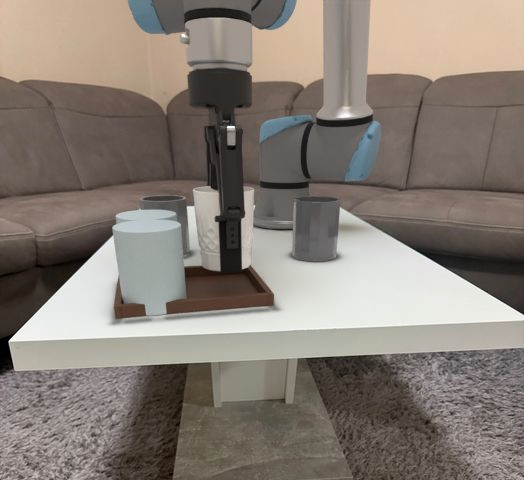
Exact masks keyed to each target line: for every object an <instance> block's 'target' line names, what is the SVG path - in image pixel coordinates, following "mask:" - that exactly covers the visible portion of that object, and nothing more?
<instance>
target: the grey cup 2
mask: <svg viewBox="0 0 524 480" xmlns="http://www.w3.org/2000/svg"><path fill="white" fill-rule="evenodd" d="M340 212H341V198H339V197H335V196H327V195H310V196H302V197H296V198H294V209H293V229H292V241H291V243H292V246H291V247H292V249H291V253H292V254H291V255H292V257H293V258H294V259H296V260H298V261H299V260H300V261H304V262H315V263H316V262H327V261H332V260H335V259H336V258H337V254H338V253H337V252H338V241H339V240H338V238H339V225H340Z"/></svg>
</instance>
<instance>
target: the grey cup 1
mask: <svg viewBox="0 0 524 480" xmlns="http://www.w3.org/2000/svg"><path fill="white" fill-rule="evenodd" d="M139 207H140V208H139V210H168V211H173V212H175V213H176V215H177V222H179V223H180V224H181V232H182V245H183V256H185V255H188V254H189V253H190V252H191V243H190V230H189V229H190V228H189V216H188V201H187V197H186V196H183V195H178V194H177V195H175V194H174V195H173V194H159V195H147V196H142V197H140V198H139Z"/></svg>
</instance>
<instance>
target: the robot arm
mask: <svg viewBox="0 0 524 480" xmlns="http://www.w3.org/2000/svg"><path fill="white" fill-rule="evenodd" d="M297 1H298V0H127V4H128V8H129V10H130V12H131V15H132V18H133V20H134V22H135V23H136V25H137V26H138V28H140V30H142V31H143V32H145V33H147V34H150V35H163V34H164V35H165V36H168V35H171V34H180V35H179V42H180V43H181V45H182V44H183V45H187V47H186V48H185V54H186V55H185V56H186V64H187V65H188V66H189V67H191V68H192V70H189V71H188V74H187V75H186V76H187V77H186V78H187V97H188V105H189V107H191V108H193V109H196V110H197V109H198V110H199V109H200V110H208V115H207V116H208V121H207V124H208V125H204V126H203V138H204V141H205V142H204V143H205V168H206V186H211V188H212V189H214V190H217V191H218V193H219V207H220V216H215V218H214V219H215V222H219V247H220V272H221V274H223V273H238V272H242V242H241V220H242V218H244V217H245V208H244V186H245V185H244V165H243V163H244V162H243V134H244V129H243V126H242V125H237V121H236V113H235V110H247V109H250V108H251V107H252V105H253V75H252V74H251V72H250V71H248V69H249V68H251V66H253V27H254V28H256V29H257V30H260V31H262V30H265V31H274V30H277V29H279V28H282V27H283V26H285V24H286V23H288V21H289V20H290V19H291V18H292V16H293V14H294V11H295V9H296V5H297ZM371 1H372V0H322V28H323V29H322V32H323V33H322V41H323V43H322V44H323V46H322V47H323V48H322V49H323V51H322V52H323V53H322V57H323V58H322V59H323V61H322V62H323V64H322V65H323V67H322V68H323V69H322V70H323V75H322V76H323V79H322V80H323V82H322V83H323V87H322V88H323V105H322V107H321V108H320V109H319V110H318V112H317V113H316V115H315V121H314V119H313V117H312V116H311V114H301V115H294V116H293V115H290V116H283V117H278V118H272V119H268V120H266V121H264V122H262V124H260V125H261V126H260V127H259V141H258V146H259V154H258V155H259V191H258V195H257V199H256V202H255V204H254V215H253V226H255V227H259V228H263V229H269V230H293V209H294V198H296V197H302V196H311V194H310V180H320V181H321V180H324V181H340V182H341V181H343V182H345V183H346V182H361V181H364V180H366V179H367V178H368V177H369V176H370V174H371V173H372V171H373V168H374V166H375V163H376V160H377V157H378V153H379V148H380V143H381V137H382V125H381V123H380V122H379V121H376V120H374V110H373V109H372V108H371V106H369V104H368V103H367V87H368V85H367V84H368V66H369V65H368V64H369V44H370V43H369V41H370V25H371V24H370V21H371Z"/></svg>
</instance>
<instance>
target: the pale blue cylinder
mask: <svg viewBox="0 0 524 480" xmlns="http://www.w3.org/2000/svg"><path fill="white" fill-rule="evenodd" d="M111 230H112V236H113V245H114V250H115V258H116V264H117V272H118V275H119V279H120V286H121V293H122V301H123V304H127V303H137V304H145V310H146V316H145V317H151V316H152V317H153V315H154V316H164V315H163V314H166V315H168V314H167V312H166V302H170V301H174V300H179V299H187V297H186V284H185V271H184V266H185V261H184V260H185V259H184V255H183V245H182V232H181V224H180V223H179V222H176V221H171V220H156V219H151V220H135V221H127V222H122V223H119V224H117V223H116V224H114V225H112V227H111Z"/></svg>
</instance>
